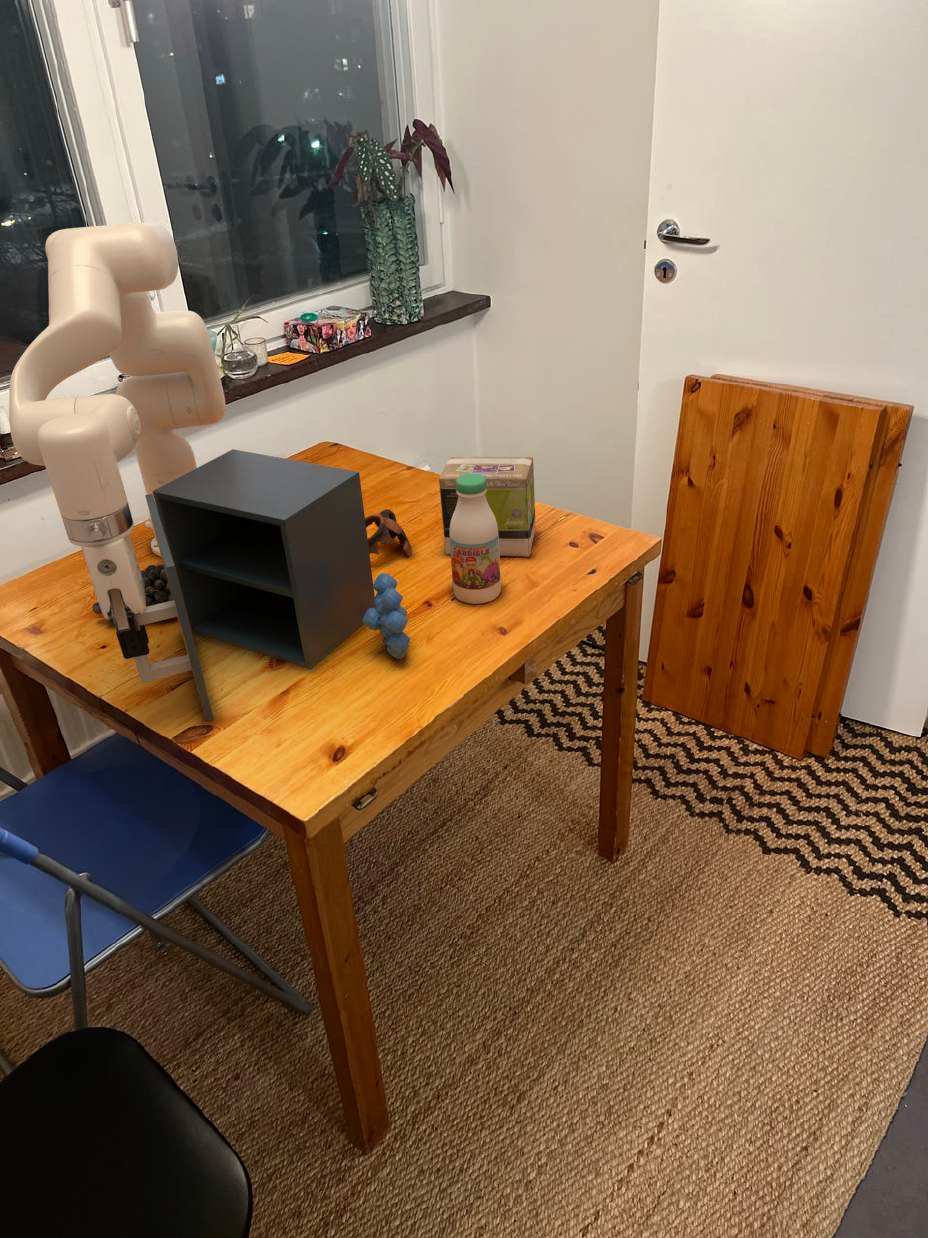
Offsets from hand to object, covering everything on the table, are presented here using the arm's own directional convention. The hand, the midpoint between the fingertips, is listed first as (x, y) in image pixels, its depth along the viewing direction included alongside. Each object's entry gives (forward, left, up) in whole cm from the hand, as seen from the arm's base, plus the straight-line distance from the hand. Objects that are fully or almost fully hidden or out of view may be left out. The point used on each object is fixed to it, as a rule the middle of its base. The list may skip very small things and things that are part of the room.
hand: (136, 649), depth 117 cm
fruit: (-23, +20, -12) cm, 32 cm away
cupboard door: (-5, +8, -12) cm, 15 cm away
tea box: (+17, +64, -12) cm, 67 cm away
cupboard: (0, +27, -12) cm, 29 cm away
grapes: (+19, +28, -12) cm, 36 cm away
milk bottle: (+23, +48, -12) cm, 54 cm away
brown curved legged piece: (+1, +54, -12) cm, 55 cm away
